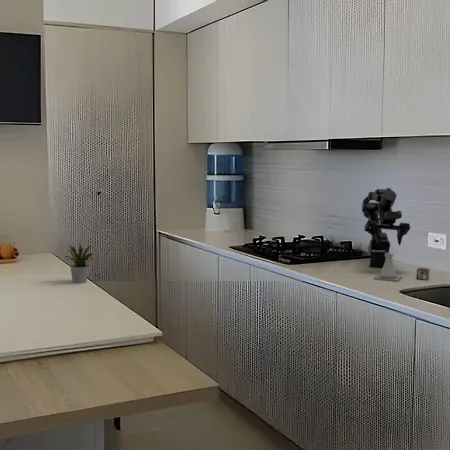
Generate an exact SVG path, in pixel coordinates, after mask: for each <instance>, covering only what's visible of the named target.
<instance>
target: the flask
mask: <svg viewBox="0 0 450 450" xmlns="http://www.w3.org/2000/svg"><path fill="white" fill-rule="evenodd" d="M385 254H386V259H385V263H384V266H383V268H382V269H381V271H380V273H379V274H380V275H379V276H380V277H384V278H397V277H396V276H397V274H396V270H395V267H394V263H393V255H394V253H392V252H389V253H385Z"/></svg>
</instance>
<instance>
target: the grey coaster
mask: <svg viewBox="0 0 450 450" xmlns="http://www.w3.org/2000/svg"><path fill="white" fill-rule="evenodd" d="M379 275H380V273H378V274H377V275H376V276H374V277H373V280H379V281H386V282H395V283H396V282H397V283H398V282H399V281H400V280H402V279H403V276H401V275H396V277H397V278H384V277H380V276H379Z"/></svg>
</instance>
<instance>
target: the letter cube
mask: <svg viewBox="0 0 450 450" xmlns="http://www.w3.org/2000/svg"><path fill="white" fill-rule="evenodd" d="M429 279H430V268H429V267H419V266H418V267H417V269H416V278H415V280H419V281H429Z"/></svg>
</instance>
